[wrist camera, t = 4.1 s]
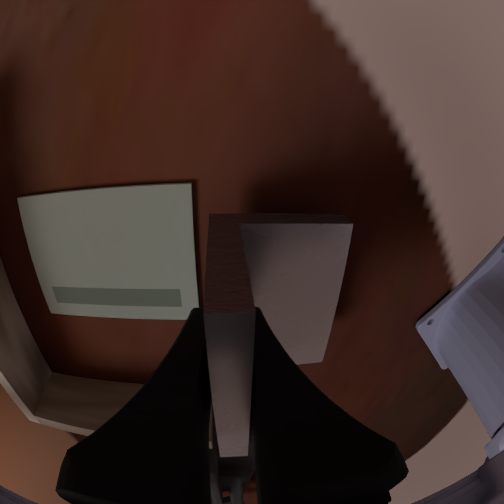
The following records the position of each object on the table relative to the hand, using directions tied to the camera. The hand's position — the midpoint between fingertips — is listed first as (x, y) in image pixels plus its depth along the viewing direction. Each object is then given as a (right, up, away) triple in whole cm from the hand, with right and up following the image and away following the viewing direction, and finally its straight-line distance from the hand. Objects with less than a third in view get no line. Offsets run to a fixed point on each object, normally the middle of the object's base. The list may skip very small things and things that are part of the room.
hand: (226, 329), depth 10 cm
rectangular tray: (-6, +2, +2) cm, 7 cm away
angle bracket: (+2, +1, +2) cm, 3 cm away
